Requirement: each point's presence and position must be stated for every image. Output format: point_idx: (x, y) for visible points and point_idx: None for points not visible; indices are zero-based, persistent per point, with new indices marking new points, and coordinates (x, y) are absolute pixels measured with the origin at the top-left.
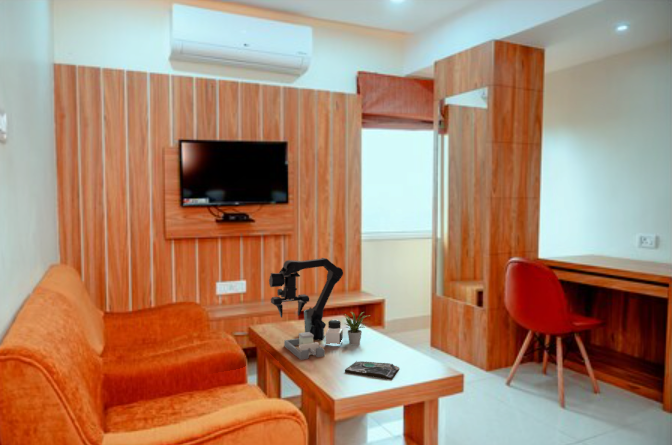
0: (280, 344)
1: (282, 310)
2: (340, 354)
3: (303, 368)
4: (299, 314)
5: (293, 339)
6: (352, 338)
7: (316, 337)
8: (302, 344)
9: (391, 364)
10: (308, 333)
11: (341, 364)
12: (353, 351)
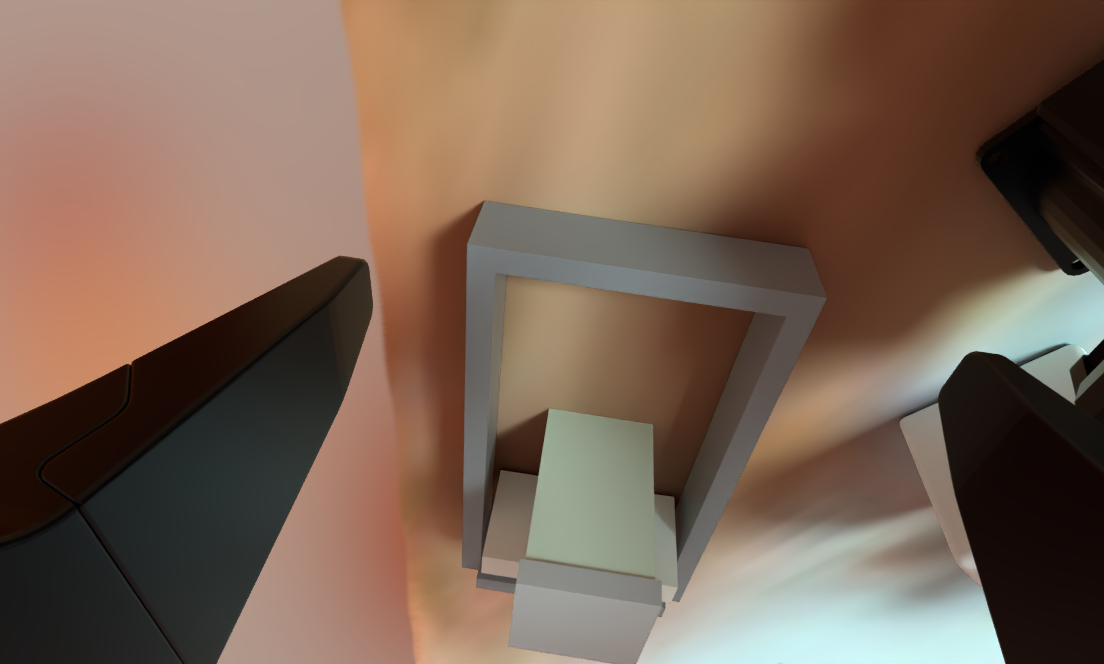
0: (466, 97)
1: (252, 587)
2: (803, 579)
3: (430, 596)
4: (966, 440)
5: (599, 276)
6: None
7: (1050, 226)
8: (514, 566)
9: None
10: (615, 628)
11: (666, 650)
12: (942, 589)
